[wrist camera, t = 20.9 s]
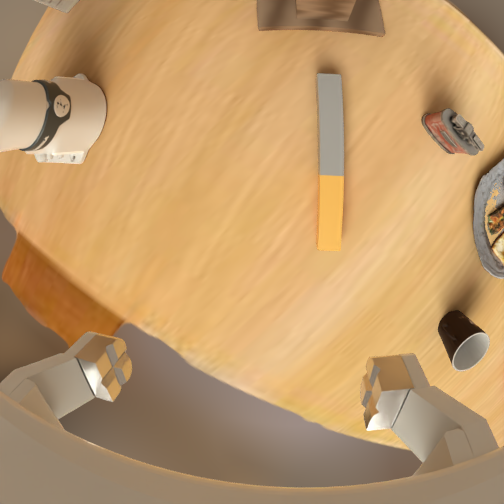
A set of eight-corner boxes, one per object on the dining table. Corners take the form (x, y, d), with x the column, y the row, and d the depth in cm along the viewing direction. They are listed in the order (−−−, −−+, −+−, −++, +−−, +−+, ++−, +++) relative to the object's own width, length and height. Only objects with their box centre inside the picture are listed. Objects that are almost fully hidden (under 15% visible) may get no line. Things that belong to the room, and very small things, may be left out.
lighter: (417, 123, 36) (446, 116, 27) (427, 109, 35) (457, 101, 25) (449, 158, 37) (482, 161, 27) (458, 144, 35) (492, 145, 26)
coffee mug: (470, 326, 45) (491, 353, 36) (438, 348, 48) (456, 378, 38) (459, 286, 43) (484, 311, 34) (424, 310, 46) (444, 340, 36)
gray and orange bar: (316, 243, 45) (317, 250, 42) (315, 79, 37) (317, 73, 33) (337, 244, 44) (340, 250, 41) (337, 80, 36) (341, 74, 33)
